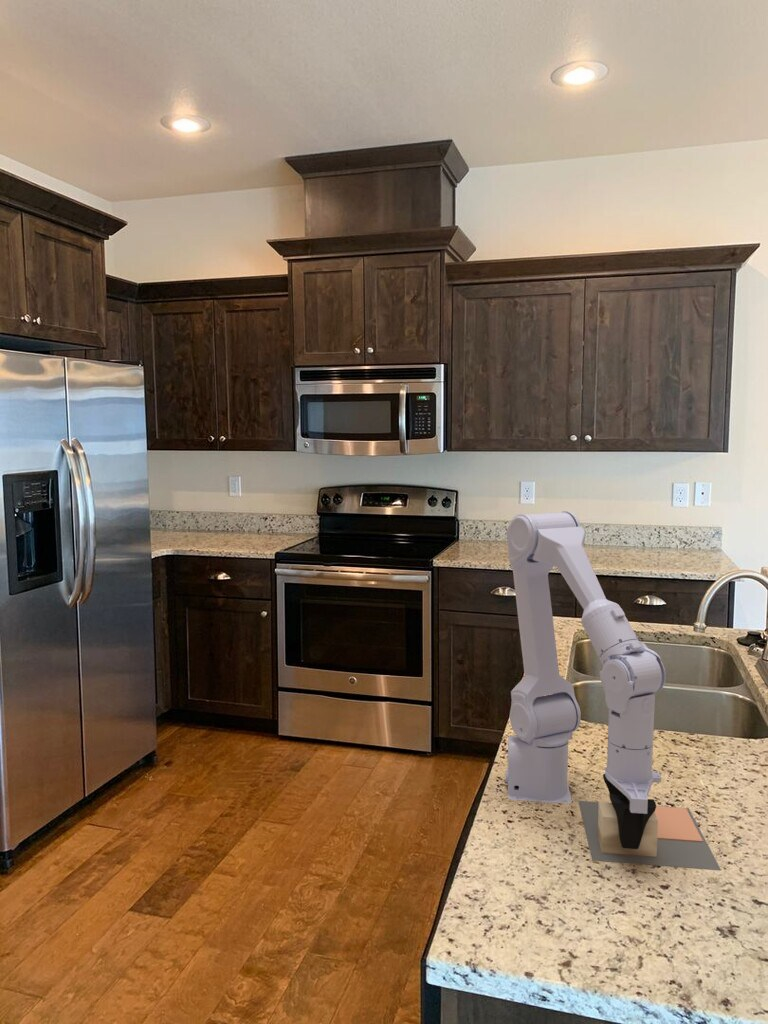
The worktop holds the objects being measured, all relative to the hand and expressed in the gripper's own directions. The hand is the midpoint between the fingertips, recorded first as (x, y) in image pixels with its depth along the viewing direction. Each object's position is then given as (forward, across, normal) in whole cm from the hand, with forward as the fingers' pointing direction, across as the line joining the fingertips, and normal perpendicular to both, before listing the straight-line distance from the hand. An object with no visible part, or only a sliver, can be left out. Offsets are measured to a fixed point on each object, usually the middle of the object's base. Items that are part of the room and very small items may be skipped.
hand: (626, 837), depth 101 cm
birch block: (+1, 0, 0) cm, 1 cm away
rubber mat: (+2, +4, -3) cm, 5 cm away
